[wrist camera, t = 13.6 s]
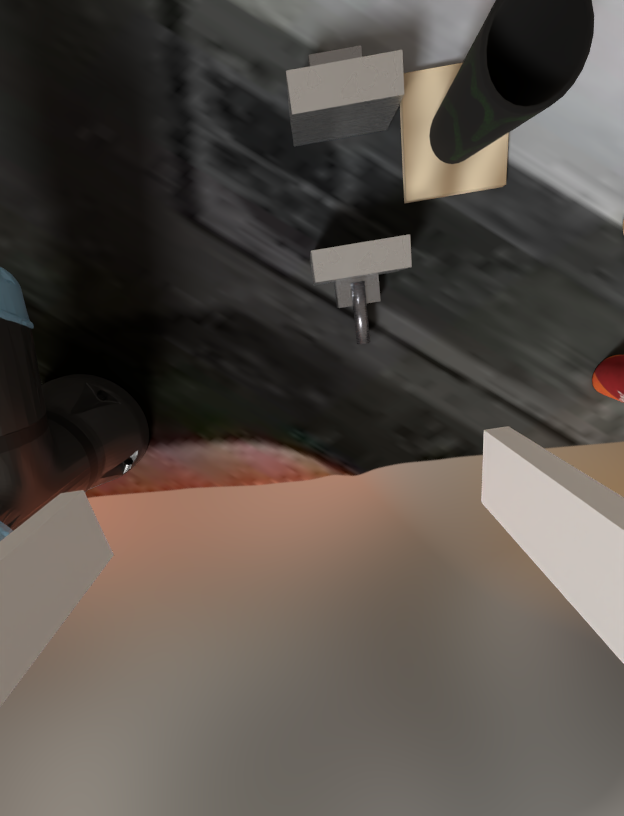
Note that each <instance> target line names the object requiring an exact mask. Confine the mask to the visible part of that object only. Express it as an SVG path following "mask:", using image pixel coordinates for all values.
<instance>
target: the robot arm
mask: <svg viewBox="0 0 624 816" xmlns="http://www.w3.org/2000/svg"><path fill="white" fill-rule="evenodd" d="M31 328H32V329H33V328H34V327H33V323H32V322H31V321H30V320H29V317H28V314H27V310H26V307H25V303H24V299H23V294H22V290H21V287H20V285H19V283H18V282H17V280H16V279H15V278H14V277H13V276H12V275H11V274H10V273H9V272H8V271H6V270H5V269H3V268H2V267H0V707H1V705H2V704H3V703H4V701H5V700H6V699H7V697H8V696H9V695H10V693H11V692H12V691H13V689H14V688H15V687H16V685H17V684H18V682H19V681H20V680H21V679H22V677H23V676H24V675H25V673H26V672H27V671H28V669H29V668H30V666H31V665H32V664H33V663H34V661H35V659H36V658H37V657H38V656H39V655H40V653H41V652H42V651H43V649H44V648H45V646H46V645H47V644H48V642H49V641H50V640H51V638H52V637H53V636H54V634H55V633H56V632H57V630H58V629H59V627H60V626H61V625H62V624H63V622H64V621H65V620H66V618H67V617H68V616H69V614H70V613H71V612H72V610H73V609H74V608H75V606H76V605H77V604H78V602H79V601H80V599H81V598H82V597H83V595H84V594H85V593H86V592H87V590H88V589H89V588H90V586H91V585H92V583H93V582H94V581H95V579H96V578H97V577H98V575H99V574H100V573H101V571H102V570H103V569H104V567H105V566H106V565H107V563H108V562H109V561H110V559H111V558H112V557H113V552H112V550H111V548H110V546H109V544H108V542H107V539H106V537H105V535H104V533H103V531H102V529H101V527H100V525H99V522H98V521H97V518H96V516H95V514H94V512H93V510H92V508H91V505H90V503H89V501H88V499H87V497H86V495H85V493H84V492H86V491H87V490H88V489H91V488H93V487H96V486H98V485H101V484H104V483H106V482H109V481H111V480H114V479H116V478H119V477H121V476H122V475H124V474H125V473H127V472H128V471H129V470H131V469H132V468H133V467H134V466H135V465H136V464H137V463H138V462H139V461H140V460H141V458H142V457H143V455H144V454H145V452H146V450H147V447H148V443H149V427H148V423H147V420H146V417H145V415H144V413H143V411H142V409H141V407H140V406H139V404H138V403H137V402H136V400H135V399H134V398H133V397H132V396H131V395H130V394H129V393H128V392H127V391H125V390H124V389H123V388H121V387H120V386H118V385H117V384H115V383H113V382H111V381H109V380H107V379H104V378H102V377H98V376H94V375H89V374H72V375H67V376H63V377H60V378H57V379H54V380H51V381H48V382H46V383H44V384H43V385H41V380H40V375H39V369H38V364H37V358H36V352H35V346H34V340H33V335H32V329H31ZM481 502H482V504H483V505H484V506H485V507H486V508H487V509H488V510H489V511H490V512H491V514H492V515H493V516H494V517H495V518H496V519H497V521H498V522H499V523H500V524H501V525H502V526H503V527H504V528H505V530H506V531H507V532H508V533H509V534H510V535H511V536H512V538H513V539H514V540H515V541H516V542H517V543H518V544H519V545H520V547H521V548H522V549H523V550H524V551H525V552H526V553H527V554H528V556H529V557H530V558H531V559H532V560H533V561H534V563H535V564H536V565H537V566H538V567H539V568H540V569H541V570H542V572H543V573H544V574H545V575H546V576H547V577H548V578H549V580H550V581H551V582H552V583H553V584H554V585H555V586H556V587H557V588H558V589H559V591H560V592H561V593H562V594H563V595H564V597H565V598H566V599H567V600H568V601H569V602H570V603H571V604H572V605H573V607H574V608H575V609H576V610H577V611H578V612H579V614H580V615H581V616H582V617H583V618H584V619H585V620H586V621H587V623H588V624H589V625H590V626H591V627H592V628H593V629H594V631H596V633H597V634H598V635H599V636H600V637H601V638H602V639H603V641H604V642H605V643H606V644H607V645H608V646H609V647H610V649H611V650H612V651H613V652H614V653H615V654H616V655H617V657H618V658H619V659H620V660H621V661H622V662H623V663H624V497H622V496H620V495H619V494H617V493H616V492H614V491H612V490H610V489H609V488H607V487H606V486H604V485H603V484H601V483H599V482H598V481H596V480H594V479H593V478H591V477H589V476H588V475H586V474H585V473H583V472H581V471H580V470H578V469H577V468H575V467H573V466H572V465H570V464H568V463H567V462H565V461H563V460H562V459H560V458H559V457H557V456H555V455H554V454H552V453H551V452H549V451H547V450H546V449H544V448H542V447H541V446H539V445H538V444H536V443H534V442H533V441H531V440H529V439H528V438H526V437H525V436H523V435H521V434H520V433H518V432H516V431H515V430H513V429H512V428H510V427H501V428H494V429H487V430H484V442H483V472H482V499H481Z"/></svg>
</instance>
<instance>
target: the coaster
mask: <svg viewBox="0 0 624 816" xmlns="http://www.w3.org/2000/svg"><path fill="white" fill-rule="evenodd" d="M462 64H463V63H458V64H452V65H447V66H441V67H436V68H430V69H425V70H419V71H414V72H408V73H403V75H404V96H403V98H402V100H401V102H400V118H401V140H402V162H403V183H404V203H410V202H416V201H422V200H428V199H434V198H440V197H445V196H451V195H457V194H463V193H469V192H475V191H481V190H487V189H493V188H498V187H502V186H504V185H506V174H507V153H508V133H507V134H505V135H504V136H502V137H501V138H499V139H498V140H496V141H494V142H493V143H491V144H490V145H488V146H487V147H485V148H483V149H482V150H480V151H479V152H477V153H476V154H474V155H472V156H471V157H469V158H468V159H466V160H465V161H462V162H460V163H457V164H448V163H445V162H442V161H441V160H439V159H438V158H437V157H436V156H435V154H434V152H433V151H432V148H431V145H430V137H429V135H430V127H431V124H432V120H433V118H434V116H435V114H436V112H437V111H438V109H439V107H440V105H441V103H442V101H443V99H444V97H445V96H446V94H447V92H448V90H449V88H450V86H451V84H452V82H453V80H454V79H455V77H456V75H457V73H458V71H459V69H460V67H461V65H462Z"/></svg>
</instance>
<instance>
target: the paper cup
mask: <svg viewBox="0 0 624 816" xmlns="http://www.w3.org/2000/svg"><path fill="white" fill-rule="evenodd" d="M592 384H593V387H594V388H595V390H596V391H598V392H599V393H602V394H604V395H606V396H609V397H611V398H613V399H616V400H619V401H621V402H624V355H614V356H610V357H608V358H606V359H605V360H603V361H602V362H601V363H600V364H599V365H598V366H597V368H596V369H595V371H594V373H593V376H592Z"/></svg>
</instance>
